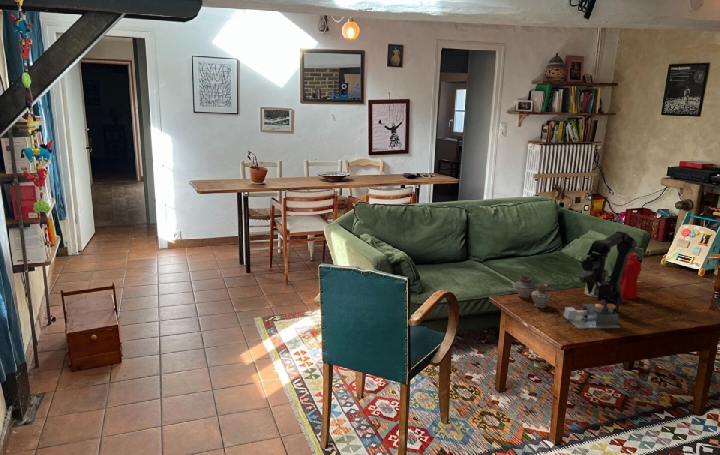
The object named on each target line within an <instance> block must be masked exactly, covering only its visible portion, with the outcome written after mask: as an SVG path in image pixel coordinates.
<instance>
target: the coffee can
mask: <svg viewBox="0 0 720 455" xmlns="http://www.w3.org/2000/svg"><path fill="white" fill-rule="evenodd" d="M605 270H606V269H605ZM608 273H609V271H608V270H606V273H604V276H603V278H605V281H602V282H607V279H608ZM595 288H596V282H595V285H594V287H593V290H592V292H591V294H589V293H588V289H587V284H586V283H585V288H584V289H585V290H584V294H585V295H587V296H589V297H592V298H593V297H594V298H597V295H598V291H597V290H596V289H595Z"/></svg>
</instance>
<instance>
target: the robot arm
mask: <svg viewBox="0 0 720 455" xmlns="http://www.w3.org/2000/svg"><path fill="white" fill-rule="evenodd" d="M637 245H638V242H637V241H636V239H635V238H633V237H632V236H630V234H628V233H627V232H624V231H620V230H619V231H618V230H617V231H616V232H615V233H613V234H611V235H610V236H608V237H607V238H604V239H596V240H595V241H593V242H592V244H591V245H590V247H589V250H588V252H587V253H586V255H587V256H586V259H583V260H582V262H581V267H582V268H581V269H583V270H584V271H582V272H580V273H578V278H579V279H578V280H579V281H581V282H582V283H583V284H585V285H586V284H587V289H588V293H589V294H591V292H592V290H593V287H594V285H595V282H596V288H595V289H596V290H597V291H598V295H597V297H596V298H597V302H600V301H601V300H604V301H603V304H605V305H606V306H607V304H614V305H615V309H613V311H615V312H616V313H618V314H621V313H620V311H619V308H620V304H623V301H624V298H623V296H622V294H621V291H622V288H621V285H620V282H621V279H622V275H623V272H624V269H625V266H626V263H627V259H628V256H629V255H630V254H632V253H635V249H636V248H637ZM615 246H616V250H617V256H616V260H615V261H614V263H615V264H614V266H613V270H612V272H611V275H610V280H609V281H606V282H602V281H605V278H603V276H604V273H606V269H605V267H606V259H607V258H608V257H609V256H608V255H609V253H610V252H612V251H611V249H612V248H613V247H615Z"/></svg>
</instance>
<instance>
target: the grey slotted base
mask: <svg viewBox="0 0 720 455" xmlns="http://www.w3.org/2000/svg"><path fill="white" fill-rule="evenodd" d="M595 304H596V303H583V304H582V308H581V310H587V309H588V310H589V312H588V316H587V315H578V316H576V319H567V318H566V317H565V316H564V313H562V314H561V315H562V317H564V318H565V319H566V320H567V321H569V322H570V323H571V324H572V325H573V326H574V325H575V326H574V327H575V328H577V329H578V330H585V329H586V330H587V329H588V330H589V329H618V328H620V327H621V326H620V325H618V322H619V321H618V320H619V316H620V315H619V314H618V313H616V312H615V311H613V313H608V307H607V306H606V305H605V304H604V303H600V304H601V305H603V306H604V308H603V309H601V313H598V314H597V313H596V309H597V308H595Z"/></svg>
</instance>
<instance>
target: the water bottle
mask: <svg viewBox="0 0 720 455" xmlns="http://www.w3.org/2000/svg"><path fill="white" fill-rule="evenodd" d="M641 271H642V263H641V262H640V260H638V254H637V253H636V252H633V253H632V254H630V255H629V256H628V259H627V263H626V266H625V269H624V272H623V275H622V279H621V282H620V285H621V288H622V291H621V294H622V296H623V298H624V299H625V300H633V299H636V298H637V296H638V278H639V276H640V273H641ZM624 299H623V300H624Z"/></svg>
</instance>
